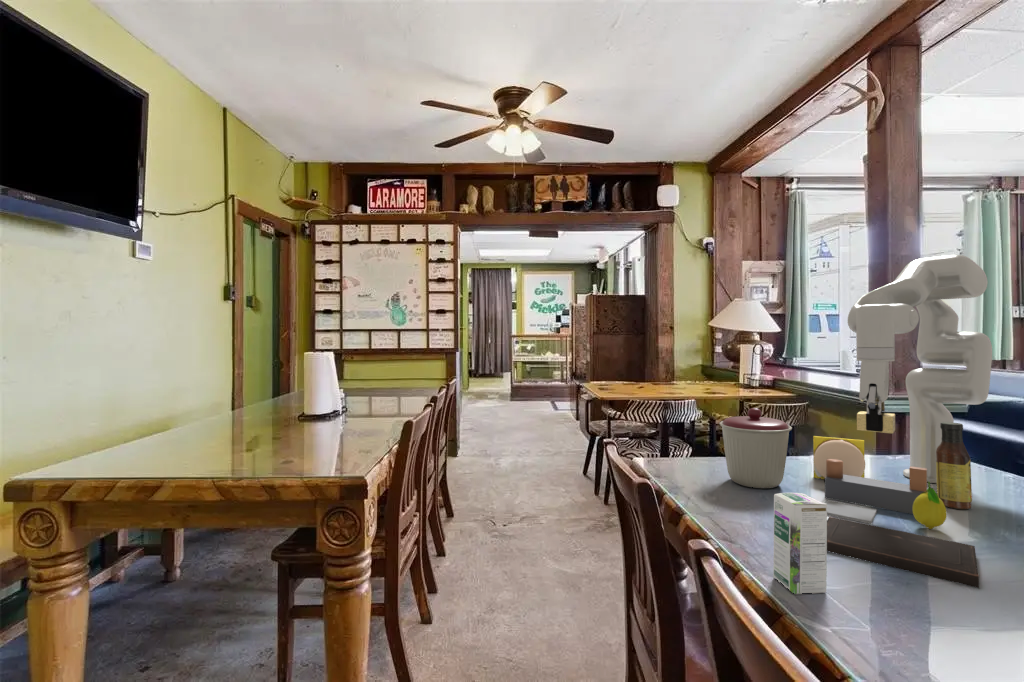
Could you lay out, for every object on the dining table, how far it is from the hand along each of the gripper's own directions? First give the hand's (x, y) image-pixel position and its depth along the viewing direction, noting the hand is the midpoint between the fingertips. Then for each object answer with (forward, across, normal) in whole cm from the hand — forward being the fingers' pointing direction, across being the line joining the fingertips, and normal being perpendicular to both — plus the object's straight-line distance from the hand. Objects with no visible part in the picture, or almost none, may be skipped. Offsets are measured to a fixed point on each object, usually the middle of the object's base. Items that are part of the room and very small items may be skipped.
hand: (875, 428), depth 119 cm
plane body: (+18, 0, 0) cm, 18 cm away
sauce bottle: (+19, -10, +14) cm, 25 cm away
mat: (+18, +12, -4) cm, 22 cm away
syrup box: (+18, +58, -4) cm, 60 cm away
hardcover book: (+19, +31, +6) cm, 37 cm away
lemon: (+19, +13, +10) cm, 25 cm away
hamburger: (+19, -14, -10) cm, 26 cm away
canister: (+19, +2, -27) cm, 33 cm away
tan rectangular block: (0, 0, 0) cm, 0 cm away
